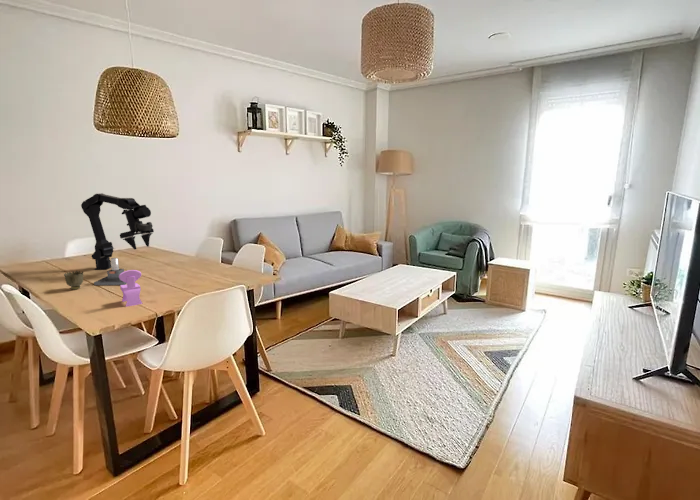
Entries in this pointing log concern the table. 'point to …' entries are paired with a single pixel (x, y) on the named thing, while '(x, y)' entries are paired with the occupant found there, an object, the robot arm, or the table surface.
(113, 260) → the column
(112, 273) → the stand
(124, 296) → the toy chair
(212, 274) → the table surface
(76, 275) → the cup
